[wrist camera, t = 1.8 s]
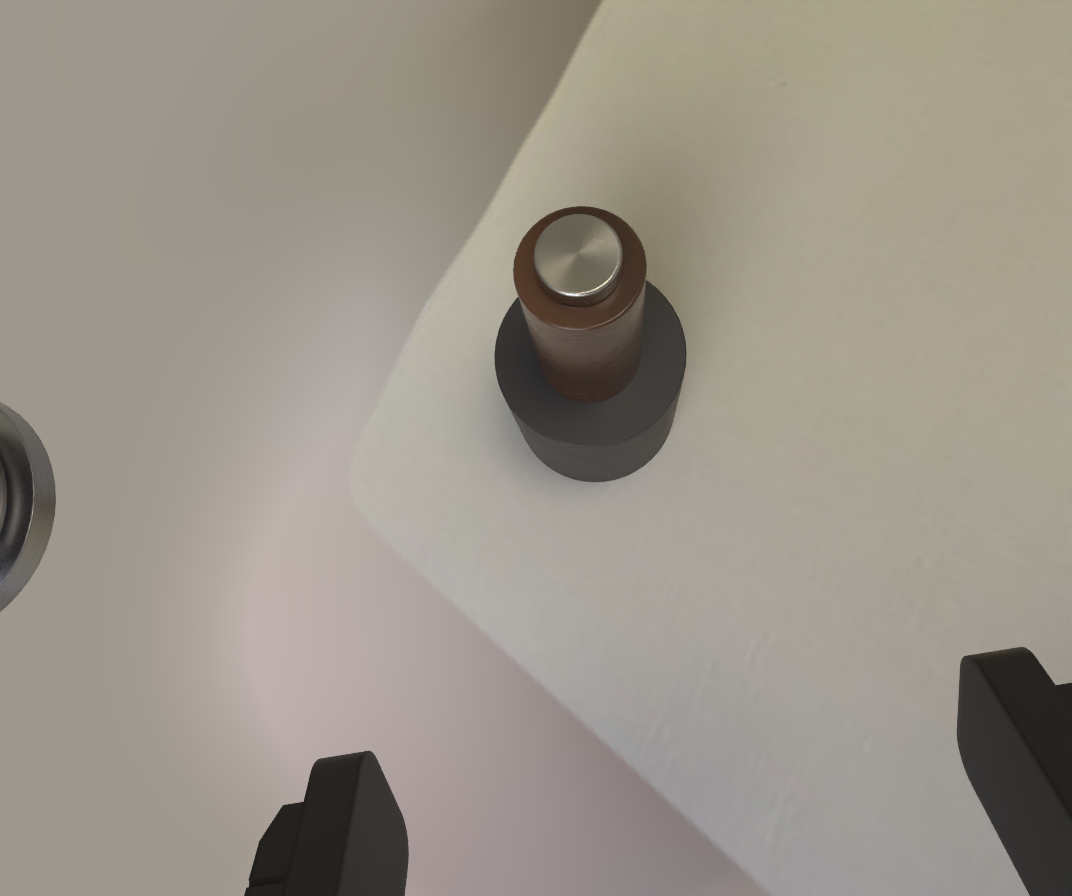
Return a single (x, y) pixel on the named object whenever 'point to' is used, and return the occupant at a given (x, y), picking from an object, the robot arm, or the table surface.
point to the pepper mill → (583, 300)
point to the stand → (604, 426)
